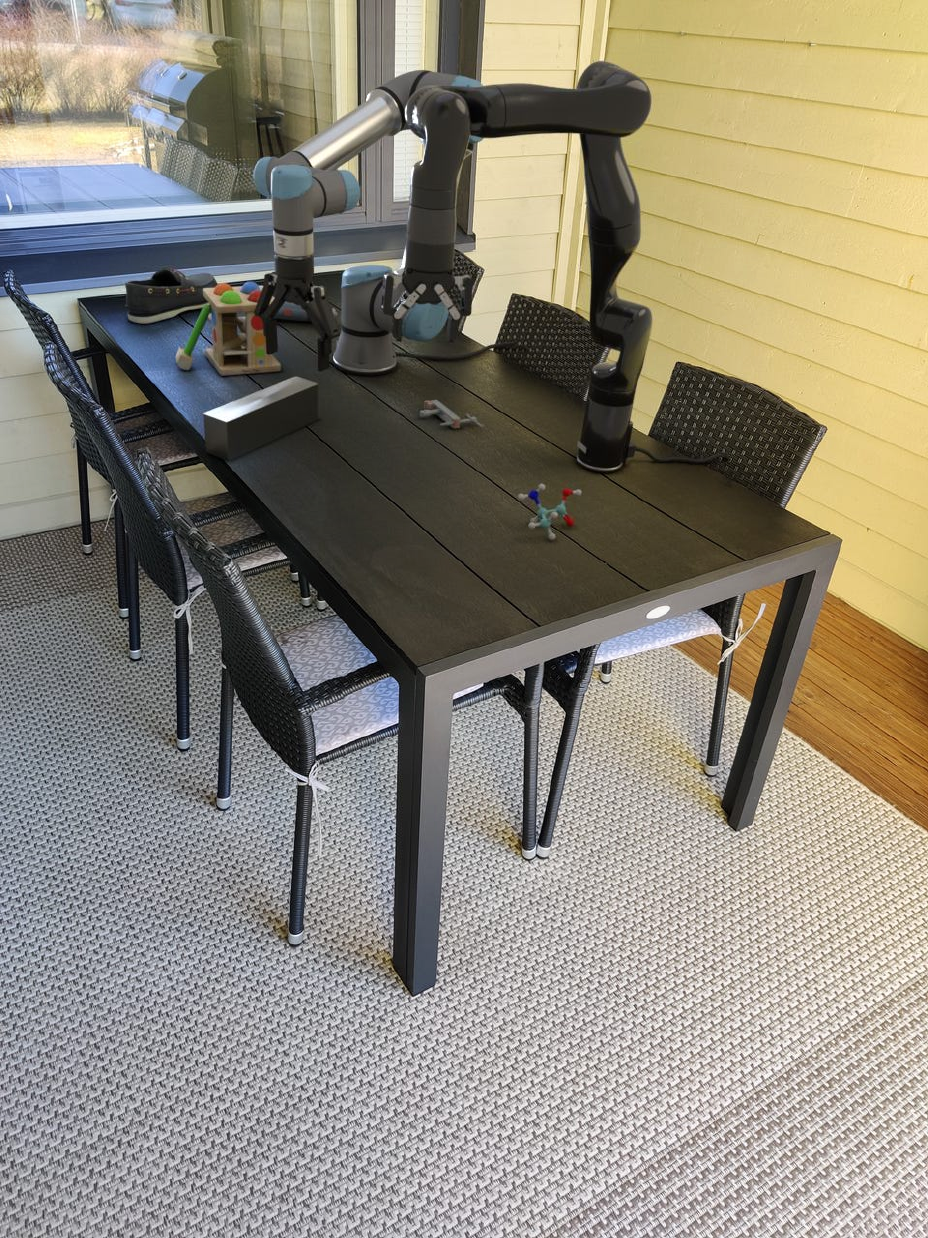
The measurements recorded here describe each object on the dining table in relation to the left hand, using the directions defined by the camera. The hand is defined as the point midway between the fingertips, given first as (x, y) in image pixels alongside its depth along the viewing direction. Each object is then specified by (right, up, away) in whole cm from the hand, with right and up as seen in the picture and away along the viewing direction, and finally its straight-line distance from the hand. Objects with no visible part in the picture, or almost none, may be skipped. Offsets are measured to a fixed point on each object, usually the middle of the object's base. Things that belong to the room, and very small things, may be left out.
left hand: (297, 360), depth 201 cm
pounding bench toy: (-22, +7, +30) cm, 38 cm away
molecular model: (+49, -36, -23) cm, 65 cm away
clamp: (+31, -10, +13) cm, 35 cm away
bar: (-7, -15, -1) cm, 17 cm away
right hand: (+28, -8, -42) cm, 51 cm away
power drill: (-9, +30, +66) cm, 74 cm away
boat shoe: (-43, +30, +61) cm, 80 cm away
